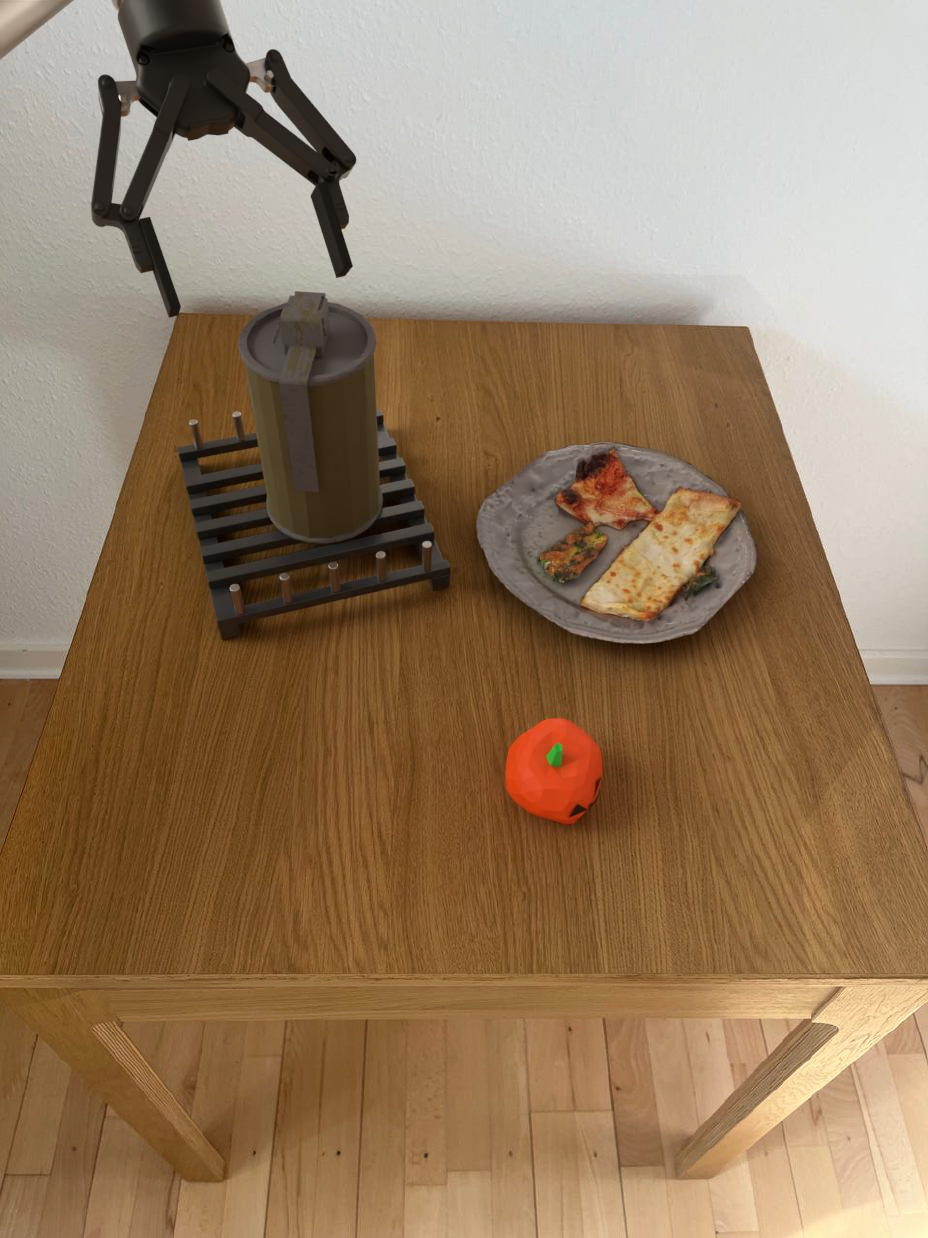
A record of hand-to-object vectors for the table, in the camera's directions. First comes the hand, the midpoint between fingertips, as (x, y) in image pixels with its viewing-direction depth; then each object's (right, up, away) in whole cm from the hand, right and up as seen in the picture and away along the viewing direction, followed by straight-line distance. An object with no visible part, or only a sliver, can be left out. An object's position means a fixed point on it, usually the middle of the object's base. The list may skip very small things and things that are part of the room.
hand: (262, 292), depth 72 cm
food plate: (+29, -19, +14) cm, 38 cm away
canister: (+3, -15, +13) cm, 20 cm away
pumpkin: (+22, -38, -1) cm, 44 cm away
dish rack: (+1, -16, +15) cm, 22 cm away
